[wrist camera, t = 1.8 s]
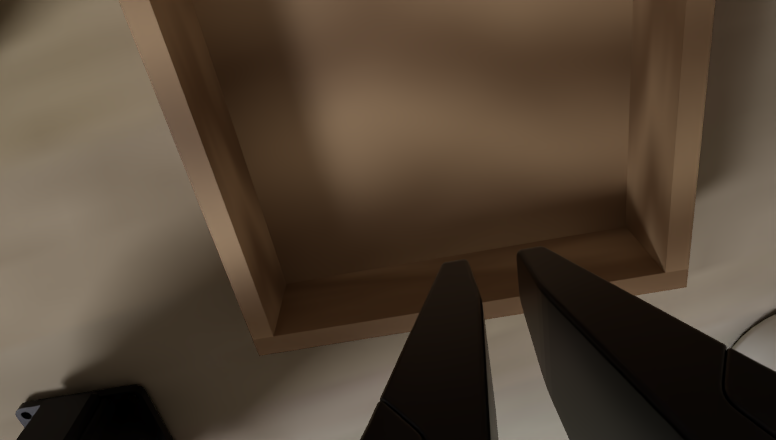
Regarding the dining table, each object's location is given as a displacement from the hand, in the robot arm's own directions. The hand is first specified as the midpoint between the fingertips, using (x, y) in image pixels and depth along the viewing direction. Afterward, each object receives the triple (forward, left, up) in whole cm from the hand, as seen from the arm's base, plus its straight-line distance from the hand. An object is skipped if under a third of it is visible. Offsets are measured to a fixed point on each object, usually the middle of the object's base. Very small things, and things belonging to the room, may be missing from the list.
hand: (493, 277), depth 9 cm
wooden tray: (+1, 0, -12) cm, 13 cm away
